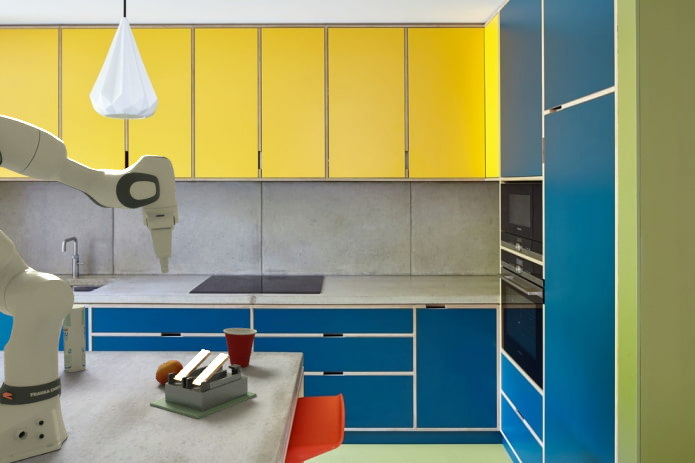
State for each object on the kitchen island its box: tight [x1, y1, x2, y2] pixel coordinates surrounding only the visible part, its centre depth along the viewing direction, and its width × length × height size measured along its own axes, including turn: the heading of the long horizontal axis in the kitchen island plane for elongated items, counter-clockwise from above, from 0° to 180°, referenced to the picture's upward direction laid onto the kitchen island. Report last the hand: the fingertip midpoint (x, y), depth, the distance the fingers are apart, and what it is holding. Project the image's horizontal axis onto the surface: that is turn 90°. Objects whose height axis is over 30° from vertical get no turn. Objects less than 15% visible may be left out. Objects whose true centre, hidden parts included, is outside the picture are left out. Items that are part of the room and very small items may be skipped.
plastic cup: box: [222, 327, 258, 369], centre depth 210 cm, size 11×11×12 cm
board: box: [149, 391, 257, 420], centre depth 176 cm, size 22×18×1 cm
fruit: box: [155, 359, 184, 387], centre depth 190 cm, size 8×8×8 cm
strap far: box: [174, 349, 212, 383], centre depth 176 cm, size 12×3×1 cm
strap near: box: [192, 353, 230, 388], centre depth 172 cm, size 12×3×1 cm
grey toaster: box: [164, 360, 249, 412], centre depth 176 cm, size 17×14×8 cm
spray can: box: [62, 304, 87, 373], centre depth 204 cm, size 6×6×20 cm
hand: (165, 268), depth 171 cm, fingers open, 8 cm apart
